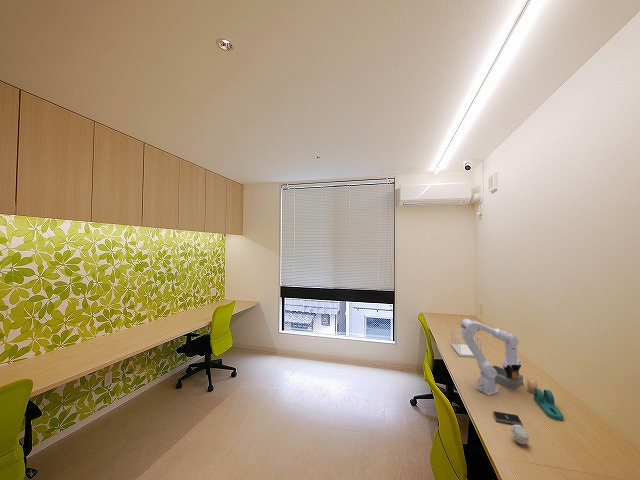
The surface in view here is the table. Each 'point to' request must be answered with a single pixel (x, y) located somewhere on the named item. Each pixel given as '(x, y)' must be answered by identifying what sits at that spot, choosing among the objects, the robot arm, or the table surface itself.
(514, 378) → the walnut cube
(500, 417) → the external hard drive
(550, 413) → the bracket
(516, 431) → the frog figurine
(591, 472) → the table surface
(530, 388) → the terracotta cylinder
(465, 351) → the file sorter
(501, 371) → the tote
